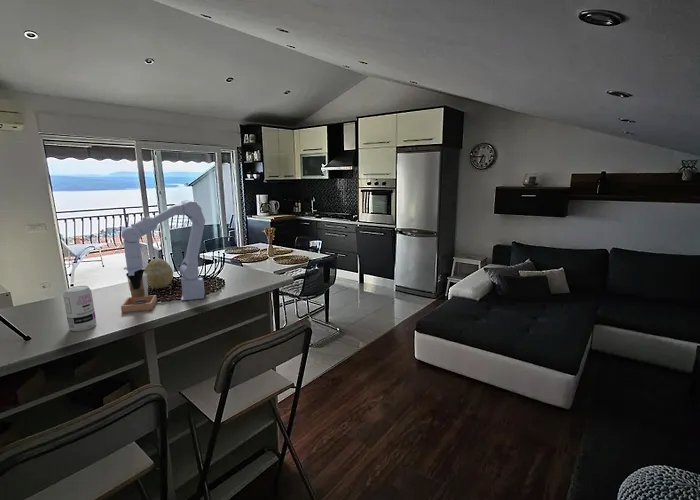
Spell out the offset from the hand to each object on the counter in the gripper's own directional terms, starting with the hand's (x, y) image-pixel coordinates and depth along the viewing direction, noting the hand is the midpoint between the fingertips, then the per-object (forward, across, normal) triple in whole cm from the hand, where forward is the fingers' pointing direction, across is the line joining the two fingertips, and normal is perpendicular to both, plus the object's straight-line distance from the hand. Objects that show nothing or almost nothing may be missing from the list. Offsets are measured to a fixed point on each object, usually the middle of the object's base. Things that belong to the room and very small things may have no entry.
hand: (137, 287), depth 150 cm
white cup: (+9, -17, -4) cm, 20 cm away
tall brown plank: (+4, 0, 0) cm, 4 cm away
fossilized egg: (+9, -27, +4) cm, 29 cm away
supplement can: (+9, +16, -16) cm, 24 cm away
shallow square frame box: (+9, 0, 0) cm, 9 cm away
